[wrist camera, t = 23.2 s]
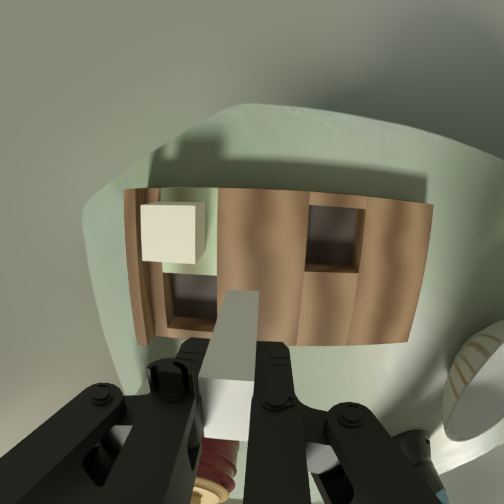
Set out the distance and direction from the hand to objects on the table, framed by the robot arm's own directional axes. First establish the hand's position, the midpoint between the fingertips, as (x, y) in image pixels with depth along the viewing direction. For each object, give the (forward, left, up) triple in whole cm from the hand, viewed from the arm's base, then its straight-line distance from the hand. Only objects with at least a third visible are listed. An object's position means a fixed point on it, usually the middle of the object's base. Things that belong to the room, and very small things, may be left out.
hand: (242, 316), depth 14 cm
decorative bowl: (-45, +23, -25) cm, 56 cm away
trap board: (-4, +5, -24) cm, 25 cm away
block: (+9, -1, -20) cm, 22 cm away
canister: (+8, +41, -25) cm, 48 cm away
